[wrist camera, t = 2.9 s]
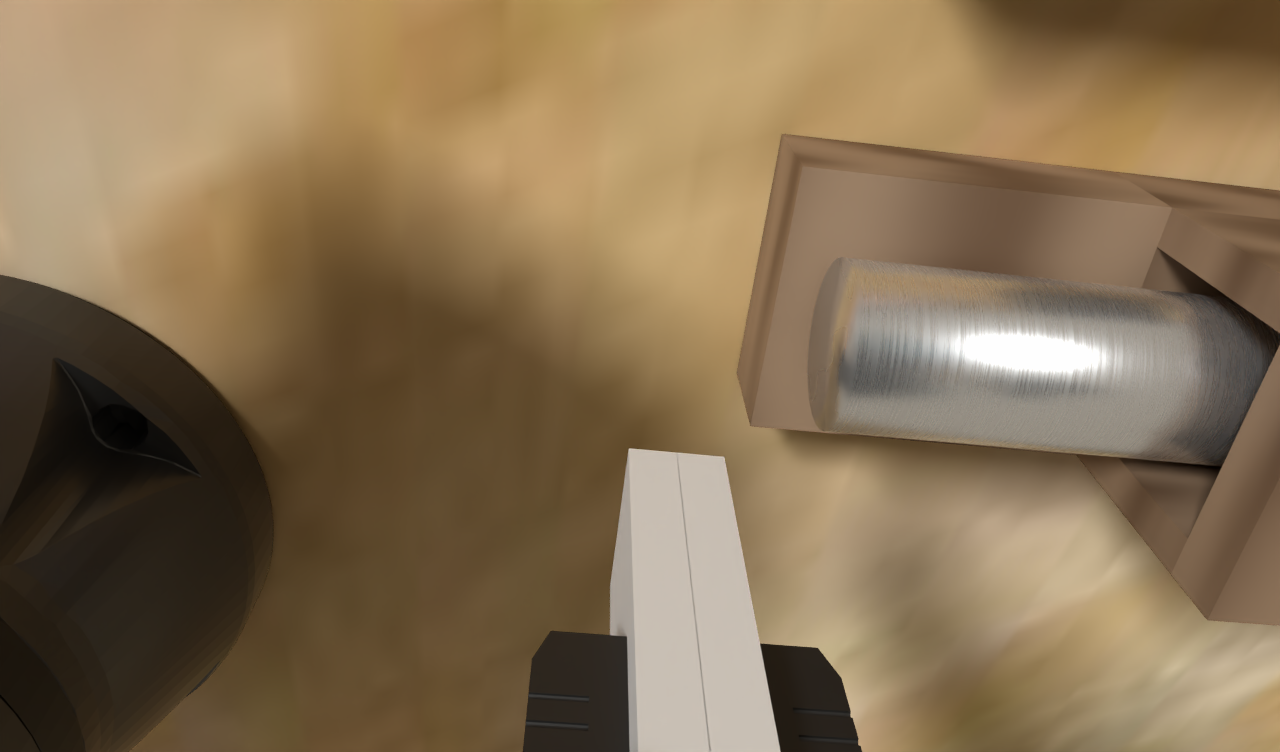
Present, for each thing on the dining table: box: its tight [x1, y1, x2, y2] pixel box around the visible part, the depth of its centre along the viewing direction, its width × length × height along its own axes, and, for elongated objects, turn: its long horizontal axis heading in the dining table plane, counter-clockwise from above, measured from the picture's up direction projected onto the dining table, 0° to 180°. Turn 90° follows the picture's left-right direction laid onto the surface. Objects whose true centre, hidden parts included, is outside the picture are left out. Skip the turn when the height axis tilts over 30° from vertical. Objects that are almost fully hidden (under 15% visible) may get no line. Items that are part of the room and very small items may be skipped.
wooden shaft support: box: [737, 134, 1280, 625], centre depth 23 cm, size 19×7×10 cm, turn 83°
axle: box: [807, 257, 1280, 466], centre depth 23 cm, size 18×4×4 cm, turn 83°
